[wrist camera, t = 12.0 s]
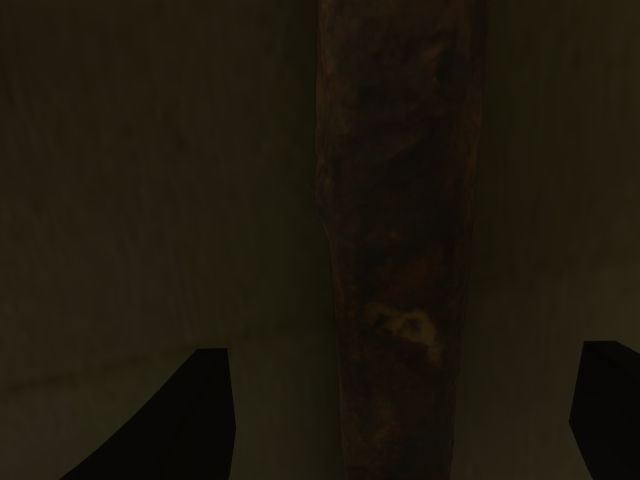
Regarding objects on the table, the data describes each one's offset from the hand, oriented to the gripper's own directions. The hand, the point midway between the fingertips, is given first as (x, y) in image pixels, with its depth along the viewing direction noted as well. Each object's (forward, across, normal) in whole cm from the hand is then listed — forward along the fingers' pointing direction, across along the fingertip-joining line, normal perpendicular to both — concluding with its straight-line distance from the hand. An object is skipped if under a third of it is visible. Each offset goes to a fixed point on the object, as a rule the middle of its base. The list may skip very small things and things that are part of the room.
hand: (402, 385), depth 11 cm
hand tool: (+4, -1, 0) cm, 4 cm away
